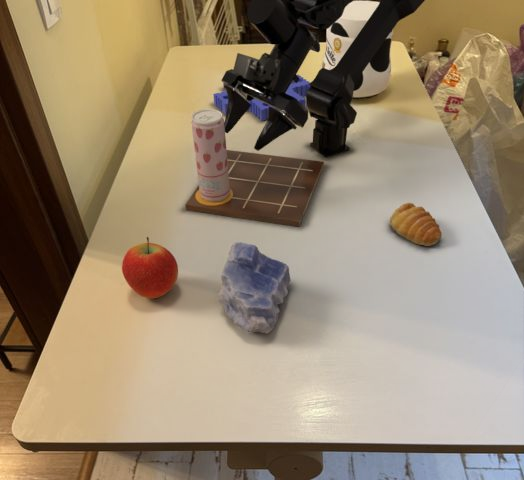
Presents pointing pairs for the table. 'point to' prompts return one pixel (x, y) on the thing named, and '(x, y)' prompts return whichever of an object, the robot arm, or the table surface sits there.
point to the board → (264, 188)
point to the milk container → (343, 36)
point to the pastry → (415, 225)
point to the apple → (150, 269)
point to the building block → (262, 108)
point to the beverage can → (211, 154)
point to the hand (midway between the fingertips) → (240, 140)
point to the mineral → (253, 288)
